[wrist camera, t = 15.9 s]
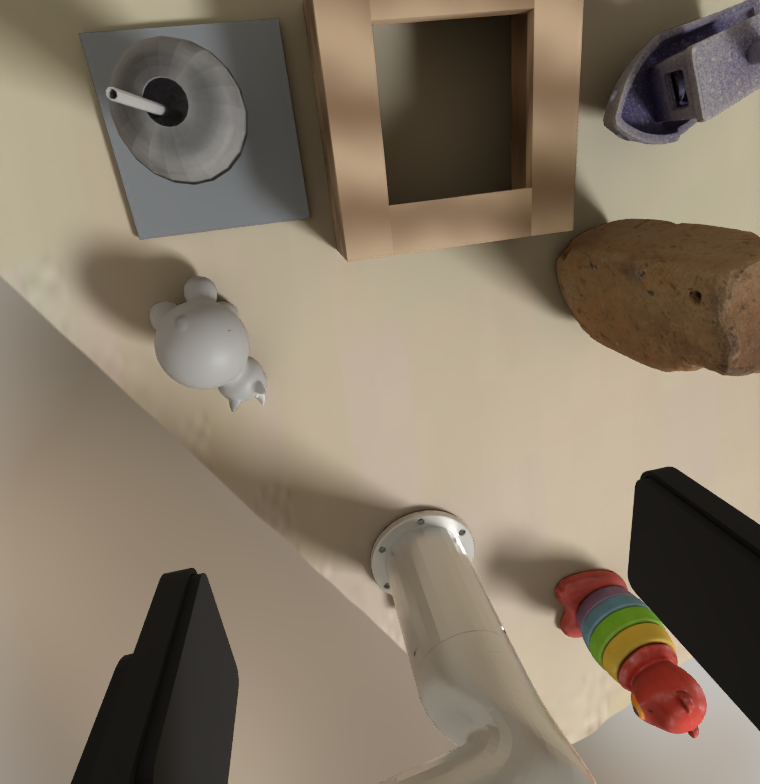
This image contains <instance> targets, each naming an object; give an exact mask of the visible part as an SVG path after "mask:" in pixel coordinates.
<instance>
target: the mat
mask: <svg viewBox="0 0 760 784" xmlns="http://www.w3.org/2000/svg"><path fill="white" fill-rule="evenodd" d="M79 36H80V39H81V43H82V46H83V50H84V53H85V56H86V60H87V63H88V67H89V70H90V73H91V77H92V80H93V83H94V87H95V90H96V94H97V97H98V100H99V104H100V107H101V110H102V114H103V117H104V121H105V124H106V127H107V131H108V134H109V138H110V141H111V144H112V148H113V151H114V154H115V158H116V161H117V165H118V168H119V171H120V175H121V178H122V182H123V185H124V188H125V192H126V195H127V198H128V202H129V205H130V209H131V212H132V215H133V219H134V222H135V225H136V229H137V232H138V236H139V239H140V240H141V239H149V238H157V237H165V236H173V235H181V234H189V233H197V232H205V231H213V230H221V229H228V228H236V227H244V226H252V225H260V224H268V223H276V222H284V221H292V220H300V219H308V218H310V215H309V209H308V203H307V196H306V190H305V184H304V178H303V171H302V165H301V159H300V152H299V146H298V140H297V133H296V127H295V121H294V114H293V108H292V102H291V95H290V89H289V83H288V76H287V70H286V64H285V57H284V51H283V45H282V39H281V32H280V26H279V20H278V18H276V19H263V20H250V21H237V22H223V23H210V24H197V25H183V26H170V27H157V28H143V29H130V30H117V31H104V32H90V33H79ZM157 36H168V37H174V38H180V39H185V40H189V41H191V42H193V43H195V44H197V45H199V46H201V47H203V48H205V49H207V50H209V51H211V52H212V53H213V54H214V55H215V56H216V57H217V58H218V59H219V60H220V61H221V62H222V63H223V64H224V65H225V66H226V67H227V68H228V69H229V70H230V72H231V73H232V75H233V77H234V78H235V80H236V82H237V84H238V85H239V87H240V89H241V91H242V94H243V98H244V101H245V105H246V108H247V112H248V135H247V138H246V142H245V145H244V148H243V151H242V154H241V156H240V157H239V158H238V160H237V161H236V163H235V164H234V165H233V167H232V168H231V169H230V170H229V171H228V172H226V173H225V174H223V175H222V176H220V177H219V178H217V179H216V180H214V181H210V182H206V183H201V184H197V185H191V184H182V183H174V182H172V181H169V180H167V179H165V178H162V177H160V176H158V175H155V174H154V173H152V172H151V171H150V170H149V169H147V168H146V167H145V166H144V165H143V164H141V163H140V162H139V161H138V160H136V158H135V157H134V156H133V154H132V153H131V152H130V150H129V149H128V147H127V146H126V145H125V143H124V142H123V141H122V139H121V137H120V136H119V134H118V131H117V129H116V126H115V124H114V121H113V119H112V116H111V113H110V105H109V98H108V97H107V96H106V89H107V88H108V87H109V83H110V79H111V75H112V70H113V68H114V66H115V64H116V63H117V61H118V60H119V58H120V57H121V55H122V54H123V52H124V51H125V50H127V49H128V48H130V47H131V46H133V45H134V44H136V43H137V42H138V41H140V40H142V39H147V38H152V37H157Z"/></svg>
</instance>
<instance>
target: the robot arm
mask: <svg viewBox="0 0 760 784" xmlns="http://www.w3.org/2000/svg"><path fill="white" fill-rule="evenodd" d="M474 554H475V545H474V540H473V537H472V535H471V533H470V531H469V529H468V528H467V526H466V525H465V524H464V523H463V522H462V521H461V520H460V519H459V518H457V517H456V516H454V515H452V514H449V513H446V512H442V511H437V510H425V511H419V512H414V513H411V514H408V515H406V516H404V517H402V518H400V519H398V520H396V521H395V522H393V523H392V524H390V525H389V526H388V527H387V528H386V529H385V530H384V531H383V532H382V533H381V534H380V536H379V537H378V539H377V540H376V542H375V544H374V546H373V549H372V553H371V568H372V573H373V576H374V578H375V581H376V582H377V584H378V585H379V586H380V588H382V589H383V590H384V591H385V592H386V593H388V594H390V595H392V596H393V600H394V604H395V608H396V611H397V615H398V619H399V623H400V627H401V630H402V634H403V638H404V642H405V645H406V649H407V653H408V657H409V661H410V664H411V668H412V671H413V676H414V679H415V683H416V687H417V691H418V695H419V699H420V701H421V704H422V706H423V708H424V710H425V712H426V714H427V716H428V717H429V719H430V720H431V722H432V723H433V724H434V725H435V726H436V728H437V729H438V730H439V731H440V732H441V733H442V734H443V735H444V736H446V737H447V738H448V739H450V740H451V741H452V742H453V743H454V744H456V745H457V746H458V748H456V749H453V750H451V751H449V753H447V754H444V755H442V756H439V757H437V758H434V759H432V760H430V761H427V762H424V763H422V764H420V765H417V766H415V767H412V768H410V769H407V770H405V771H403V772H400V773H398V774H396V775H394V776H391V777H389V778H386V779H385V780H382V781H380V782H379V783H376V784H597V783H596V781H595V780H594V778H593V776H592V775H591V773H590V772H589V770H588V769H587V767H586V765H585V764H584V762H583V761H582V759H581V758H580V756H579V755H578V754H577V752H576V751H575V749H574V748H573V746H572V745H571V744H570V742H569V741H568V739H567V738H566V737H565V735H564V734H563V732H562V731H561V729H560V728H559V726H558V725H557V723H556V722H555V720H554V719H553V717H552V716H551V714H550V713H549V711H548V710H547V708H546V706H545V705H544V703H543V702H542V700H541V698H540V696H539V695H538V693H537V691H536V689H535V688H534V686H533V684H532V682H531V680H530V679H529V677H528V675H527V673H526V671H525V669H524V667H523V665H522V663H521V661H520V659H519V657H518V655H517V653H516V651H515V649H514V647H513V646H512V644H511V642H510V640H509V638H508V636H507V634H506V632H505V630H504V628H503V626H502V624H501V622H500V620H499V618H498V616H497V614H496V612H495V610H494V608H493V606H492V604H491V602H490V600H489V598H488V596H487V594H486V592H485V590H484V588H483V586H482V584H481V582H480V580H479V578H478V576H477V574H476V572H475V570H474V568H473V566H472V562H473V559H474ZM628 580H629V583H630V585H631V587H632V589H633V590H634V591H635V593H636V594H637V595H638V596H639V597H640V598H641V599H642V601H643V602H644V603H645V604H646V605H647V606H648V607H649V608H650V609H651V611H652V612H653V613H654V614H655V615H656V616H657V617H658V618H659V619H660V621H661V622H662V623H663V624H664V625H665V626H666V627H667V628H668V629H669V631H670V632H671V633H672V634H673V635H674V636H675V637H676V638H677V639H678V641H679V642H680V643H681V644H682V645H683V646H684V647H685V648H686V649H687V651H688V652H689V653H690V654H691V655H692V656H693V657H694V658H695V659H696V660H697V662H698V663H699V664H700V665H701V666H702V667H703V668H704V670H705V671H706V672H707V673H708V674H709V675H710V676H711V677H712V678H713V679H714V681H715V682H716V683H717V684H718V685H719V686H720V687H721V688H722V690H723V691H724V692H725V693H726V694H727V695H728V696H729V697H730V698H731V700H732V701H733V702H734V703H735V704H736V705H737V706H738V707H739V708H740V710H741V711H742V712H743V713H744V714H745V715H746V716H747V717H748V718H749V720H750V721H751V722H752V723H753V724H754V725H755V726H756V727H757V728H758V730H759V731H760V524H758V523H757V522H755V521H754V520H752V519H751V518H749V517H748V516H746V515H745V514H743V513H742V512H740V511H739V510H737V509H736V508H734V507H733V506H731V505H730V504H728V503H727V502H725V501H724V500H722V499H721V498H719V497H718V496H716V495H715V494H713V493H712V492H710V491H709V490H707V489H706V488H704V487H703V486H701V485H700V484H698V483H697V482H695V481H694V480H692V479H691V478H689V477H688V476H686V475H685V474H683V473H682V472H681V471H679V470H678V469H676V468H674V467H664V468H660V469H655V470H650V471H646V472H644V473H643V474H642V475H641V478H640V480H638V481H637V482H636V485H635V494H634V506H633V517H632V529H631V540H630V552H629V564H628ZM238 687H239V678H238V670H237V666H236V663H235V660H234V657H233V654H232V651H231V648H230V645H229V641H228V638H227V635H226V632H225V629H224V627H223V623H222V620H221V618H220V614H219V611H218V608H217V605H216V603H215V599H214V596H213V593H212V590H211V587H210V584H209V581H208V578H207V575H206V574H205V573H201V574H197V572H196V570H195V569H194V568H189V569H184V570H179V571H175V572H170V573H165V574H163V575H162V577H161V578H160V581H159V584H158V586H157V589H156V592H155V594H154V597H153V600H152V603H151V606H150V608H149V611H148V614H147V617H146V620H145V622H144V625H143V628H142V631H141V634H140V636H139V639H138V642H137V644H136V648H135V650H134V653H133V654H129V655H125V656H124V657H122V658H121V659H120V661H119V662H118V664H117V666H116V668H115V671H114V673H113V676H112V679H111V681H110V684H109V686H108V689H107V691H106V694H105V697H104V699H103V702H102V704H101V707H100V710H99V712H98V715H97V717H96V720H95V722H94V725H93V728H92V730H91V733H90V736H89V738H88V741H87V743H86V746H85V748H84V751H83V753H82V756H81V759H80V761H79V764H78V766H77V769H76V772H75V774H74V777H73V780H72V782H71V784H228V776H229V767H230V759H231V750H232V741H233V731H234V723H235V714H236V705H237V696H238Z"/></svg>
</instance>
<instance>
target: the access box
mask: <svg viewBox="0 0 760 784" xmlns="http://www.w3.org/2000/svg"><path fill="white" fill-rule="evenodd" d="M583 4H584V0H303V8H304V15H305V23H306V30H307V37H308V44H309V51H310V58H311V65H312V72H313V80H314V87H315V94H316V101H317V108H318V115H319V122H320V129H321V137H322V144H323V151H324V158H325V165H326V172H327V179H328V186H329V194H330V201H331V208H332V215H333V222H334V229H335V236H336V243H337V250H338V252H339V253H340V254H341V255H342V256H343V257H344V258H345V259H346V260H347V261H348V262H349V261H356V260H363V259H370V258H378V257H385V256H392V255H399V254H406V253H414V252H421V251H428V250H435V249H443V248H450V247H457V246H464V245H471V244H479V243H486V242H493V241H500V240H507V239H515V238H522V237H529V236H536V235H544V234H551V233H558V232H565V231H572V230H573V218H574V197H575V175H576V154H577V132H578V111H579V90H580V68H581V47H582V26H583ZM498 15H511V125H512V190H505V191H497V192H489V193H481V194H474V195H466V196H458V197H450V198H442V199H434V200H426V201H418V202H410V203H402V204H394V205H389V200H388V190H387V180H386V169H385V159H384V148H383V138H382V127H381V117H380V106H379V96H378V86H377V75H376V65H375V54H374V44H373V33H372V25H384V24H397V23H409V22H422V21H435V20H447V19H460V18H473V17H486V16H498Z"/></svg>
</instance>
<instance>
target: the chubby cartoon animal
mask: <svg viewBox="0 0 760 784" xmlns="http://www.w3.org/2000/svg"><path fill="white" fill-rule="evenodd" d="M184 296H185V299H186V301H187V302H185V303H182V304H180V305H177V304H175V303H173V302H170V301H162V302H158V303H156V304H154V305H153V306H152V308H151V310H150V321H151V324H152V326H153V327H154V329H155V330H156V335H155V352H156V356H157V359H158V361H159V363H160V365H161V367H162V368H163V370H164V371H165V372H166V373H167V374H168V375H169V376H170V377H171V378H172V379H173V380H175V381H176V382H178V383H180V384H182V385H184V386H187V387H190V388H194V389H213V388H217V387H218V389H219V391H220V392H221V394H222V395H223V396H225V397H226V398H227V399H229V404H230V408H231V410H232V412H235V411H236V410H237V408H238V405H239V404H240V403H241V402H244V401H247V400H250V399H252V398H254V397H256V398H257V399H258V400H259V401H260V403H261V404H262V405H264V401H265V395H264V394H265V393H266V391H265V388H266V386H267V377H266V374H265V373H264V371H263V369H262V367H261V365H260V364H259V363H258V362H257V361H256V360H255V359H254V358H252V357H250V356H248V355H249V337H248V334H247V331H246V328H245V326H244V324H243V323H242V321H241V320H240V319H239V315H238V311H237V309H236V307H235V306H234V305H233V304H231V303H229V302H224V301H220V302H216V299H217V290H216V287H215V285H214V283H213V282H212V281H211V280H210V279H208V278H206V277H201V276H196V277H192V278H190V279H189V280H188V281H187V282H186V284H185V286H184Z"/></svg>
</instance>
